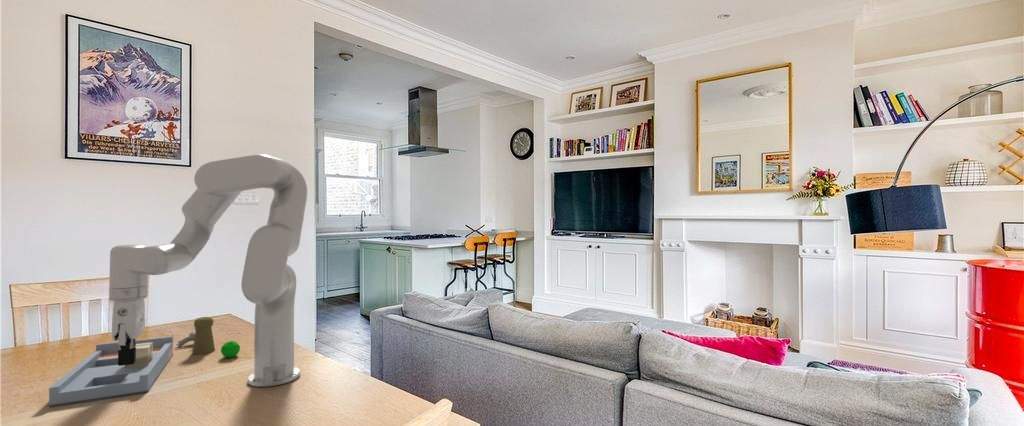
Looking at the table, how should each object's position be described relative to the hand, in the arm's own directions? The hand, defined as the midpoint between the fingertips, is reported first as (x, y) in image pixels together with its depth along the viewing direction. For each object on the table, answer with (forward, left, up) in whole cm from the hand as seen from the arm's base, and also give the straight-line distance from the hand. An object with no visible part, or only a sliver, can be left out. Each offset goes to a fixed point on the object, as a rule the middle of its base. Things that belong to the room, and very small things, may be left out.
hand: (126, 363), depth 115 cm
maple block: (+9, -1, -3) cm, 10 cm away
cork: (+25, -14, -6) cm, 29 cm away
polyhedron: (+15, -22, -6) cm, 27 cm away
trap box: (+9, +3, -6) cm, 12 cm away
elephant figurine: (+36, -10, -6) cm, 38 cm away
